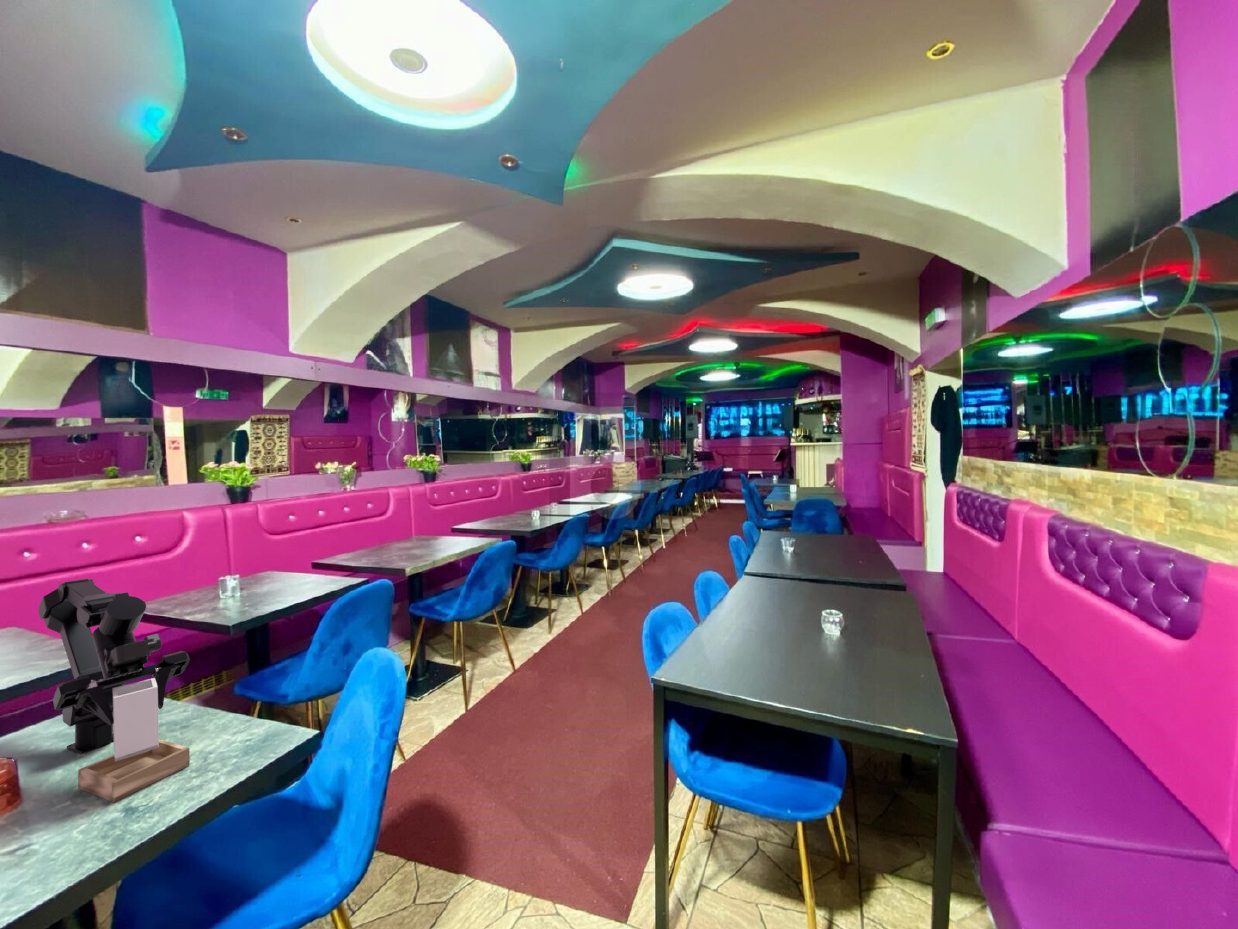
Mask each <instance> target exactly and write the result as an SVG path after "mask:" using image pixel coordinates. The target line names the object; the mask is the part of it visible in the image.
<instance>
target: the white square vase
mask: <svg viewBox="0 0 1238 929" xmlns="http://www.w3.org/2000/svg"><path fill="white" fill-rule="evenodd" d="M113 719H114V723H113V733H114V741H113V755H114V757H115V762H116V761H119V760H122V759H125V758H128V757H132V756H135V755H138V754H141V753H144V752H147V751H150V750H153V749H156V748H159V739H160V734H159V729H160V728H159V708H158V687H157V683H156V680H155V678H154V677H152V678H149V679H144V680H141V681H140V680H139V681H137V682H133V683H132V682H131V683H128V684H125V685H123V686H119V687H115V688H113Z"/></svg>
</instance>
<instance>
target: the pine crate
mask: <svg viewBox="0 0 1238 929" xmlns="http://www.w3.org/2000/svg"><path fill="white" fill-rule="evenodd" d="M190 762H191V761H190V747H188V746H185V745H181V744H178V743H174V742H171V741H168V740H165V739H162V738H161V739H160V738H159V748H156V749H153V750H150V751H147V752H144V753H141V754H138V755H135V756H132V757H128V758H125V759H122V760H119V761H116V762H115V757H114V754H112V755H110V756H108V757H104V758H102V759H100V760H97V761H95V762H93V763H91V764H89V765H87V766H84V767H82V768H78V769H77V770H78V771H77V774H78V775H77V778H78V779H77V780H78V782H77V783H78V786H77V788H78V789H79V790H81V791H84V792H86V793H89V794H91V795H94V796H97V797H99V798H102V799H105V800H107V801H109V802H112V803H117V802H119V801H121V800H123V799H124V798H126V797H128V796H130V795H133V794H136V792H138V791H140V790H142V789H144V788H147V787H148V786H150V785H152V784H154V783H156V782H159V781H160V780H162V779H164V778H167V777H169V776H170V775H172V774H175V773H178V772H179V771H180V770H183V769H185V768H187V767H189V766H190V764H191V763H190Z"/></svg>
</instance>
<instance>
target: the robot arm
mask: <svg viewBox="0 0 1238 929" xmlns="http://www.w3.org/2000/svg"><path fill="white" fill-rule="evenodd" d="M146 609H147V603H146V602H145V601H144V600H143V599H141V598H140V597H137V596H132V595H130V594H129V592H128V591H127V592H110V593H109V592H106V591H105V590H104V589H101V588H100V587H99V586H97V585H96V584H95V582H94V580H93V579H92V578H90V579H89V578H83V579H82V578H81V579H73V580H67V581H64V582H62V583H60V584H59V585H58V587H57V588H56V589H54V590H52V591H50V592H49V593H48V594H45V595H44V596H43V597H42V598H41V601H40V603H39V605H38V616H39V619H40V620H43V621H44V624H45V626H46V629H49V630H51V631H53V632H56V633H59V634H60V637H61V640H62V643H63V646H64V650H65V652H66V656H67V660H68V664H69V666H70V669H71V672H72V676H73V679H70V680H65V681H62V682H60V684H59V685H58V686H57V688H56V690H55V693H54V695H53V699H52V700H53V707H54V710H55V711H61V710H62V711H61V712H62V713H61V714H62V721H63V723H64V724H66V725H67V726H68V727H70V728H71V727H73V726H74V743H71V744H68V745H67V746H66V749H67V750H69V751H72V752H75V753H79V754H80V755H81V754H87V753H89V752H91V751H94V750H96V749H98V748H101V747H104V746H106V745H108V744H110V743H114V733H113V723H114V719H113V688H115V687H119V686H123V685H126V683H129V682H132V681H136V680H139V679H143V678H144V679H145V678H147V677H151V676H152V678H155V680H156V683H157V687H158V710H162V708H163V707H164V703H165V697H166V696H165V694H166V687H167V683H168V682H170V681H171V679H172V678H173V677H174V678H175V677H177V676H180V675H182V674H184V672H185V670H186V668H187V667H188V665H189V663H190V661H191V657H190V655H189V653H188V652H186V651H183V650H180V651H176V652H173V653H172V652H171V653H169V654H166V655H165V654H164V655H161V658H160V660H159V663H157V664H152V665H148V666H144V665H145V664H147V663H148V661H149V658H148V657H150V656H151V655H152V654H151V653H153V652H157V651H158V650H161V648H162V646H163V644H162V640H161V637H160V635H159V633H156V634H151V635H147V636H146V637H145V638H143V640H136V637H135V635H134V631H135V630H136V629H137V628H138V626H139V625H140V622H141V620H142V618H143V615H144V614H145V612H146ZM93 627H97V628H96V629H94V630H93V632H92V631H91V630H92V629H91V628H93Z"/></svg>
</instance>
